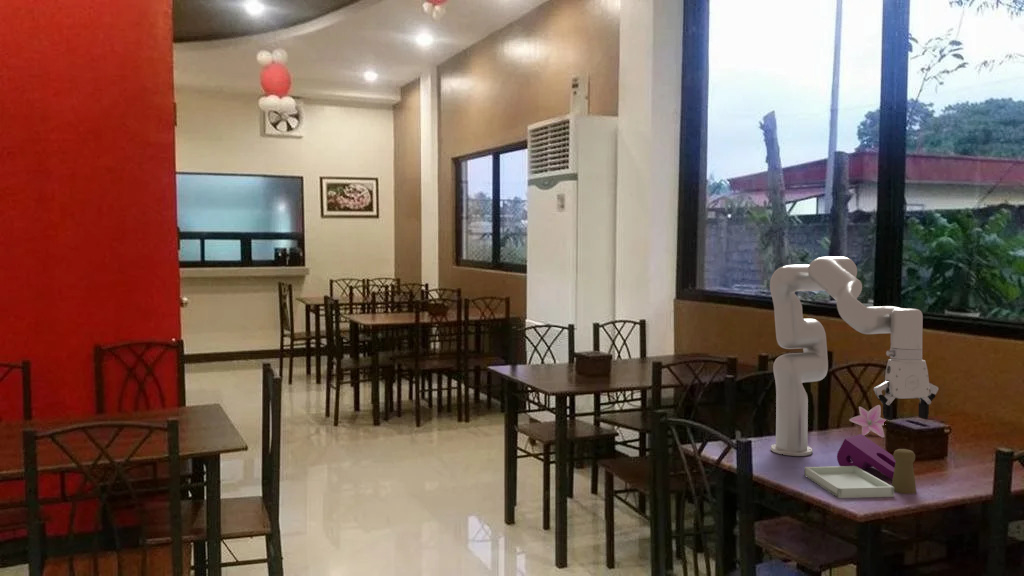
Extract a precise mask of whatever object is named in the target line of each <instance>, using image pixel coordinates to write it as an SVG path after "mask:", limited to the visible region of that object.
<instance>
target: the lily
mask: <svg viewBox="0 0 1024 576" xmlns="http://www.w3.org/2000/svg"><path fill="white" fill-rule="evenodd" d="M858 410H859V415H856V416H854V417H853V416H852V417H851V418H849V422H851V423H854V424H856V425H859V426H861V434H862V435H864V436H865V435H867V434H869V433H870V432H872V433H874V434H876V436H879V437H881V438H885V432H884V431H885V430H884V428H883V426H885V425H884V422H885V421H886V420H887V419H885V418H884V417H881V412H882V411H881V410H882V407H881V405H880V404H878V405H874V407H872V408H871V409H870V410H867V409H865V408H864V407H862V406H858Z"/></svg>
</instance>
